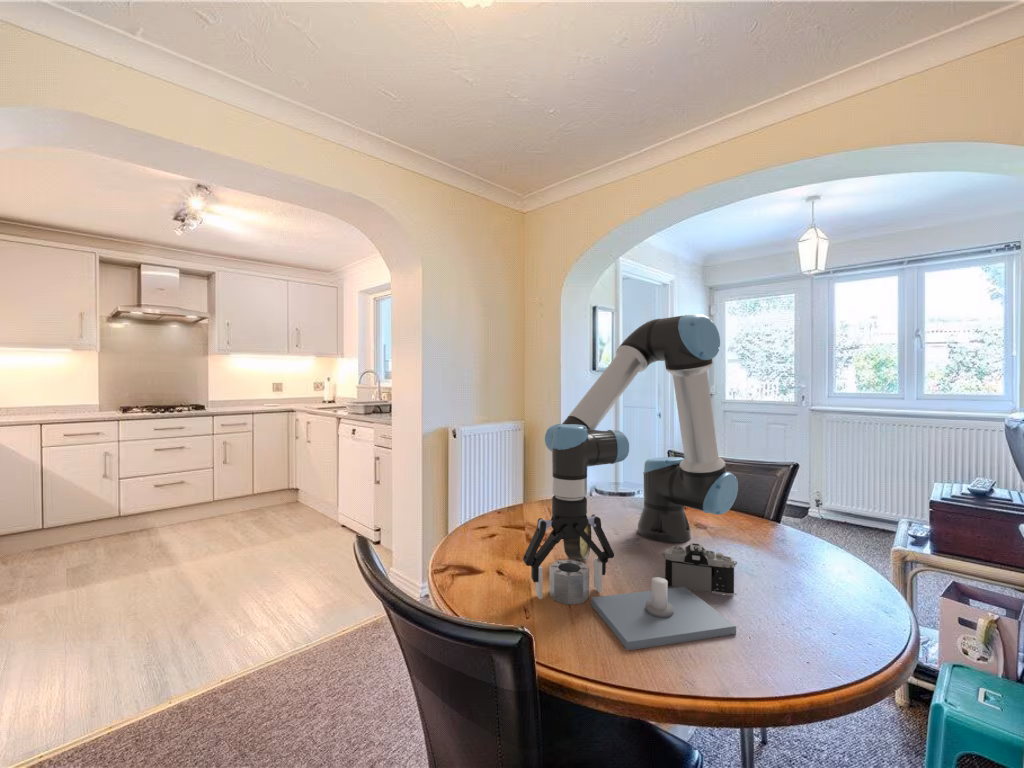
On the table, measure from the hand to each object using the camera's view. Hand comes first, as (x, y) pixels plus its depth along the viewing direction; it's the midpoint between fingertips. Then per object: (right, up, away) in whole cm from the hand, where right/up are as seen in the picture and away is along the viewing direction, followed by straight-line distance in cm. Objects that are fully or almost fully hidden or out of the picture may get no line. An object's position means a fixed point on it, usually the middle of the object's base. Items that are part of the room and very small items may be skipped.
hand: (568, 592), depth 98 cm
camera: (+30, -1, +5) cm, 31 cm away
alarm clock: (+4, 0, +17) cm, 18 cm away
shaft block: (+17, -1, -9) cm, 19 cm away
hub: (0, -1, 0) cm, 1 cm away
